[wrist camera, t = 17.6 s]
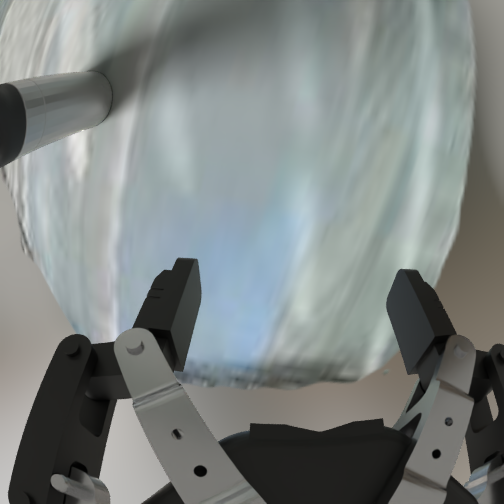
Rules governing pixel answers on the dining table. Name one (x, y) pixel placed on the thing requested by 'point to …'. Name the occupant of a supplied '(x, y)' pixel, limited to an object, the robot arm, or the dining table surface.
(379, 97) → the dining table surface
